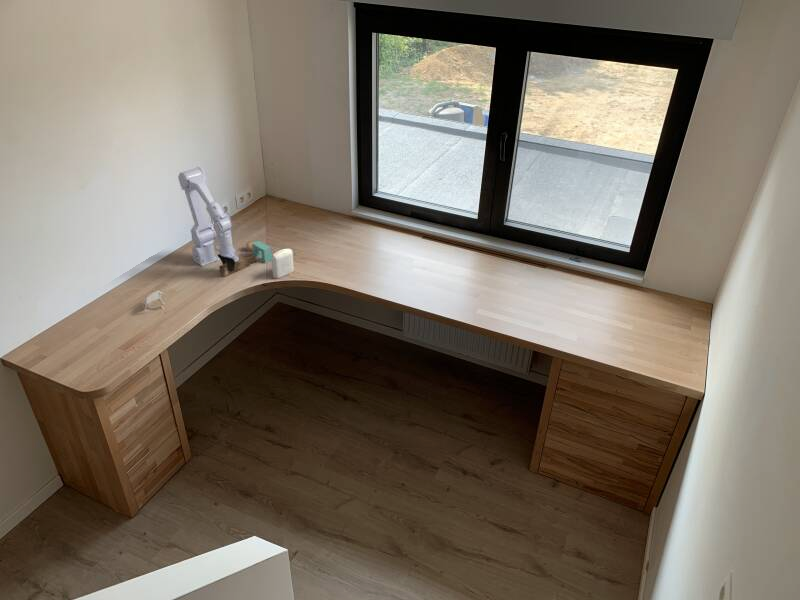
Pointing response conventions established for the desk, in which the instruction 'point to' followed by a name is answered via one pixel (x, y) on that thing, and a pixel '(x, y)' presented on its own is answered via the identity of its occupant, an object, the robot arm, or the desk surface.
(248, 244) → the bead
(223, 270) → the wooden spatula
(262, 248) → the teal angular block
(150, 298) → the origami figure
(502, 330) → the desk surface
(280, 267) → the photo printer
